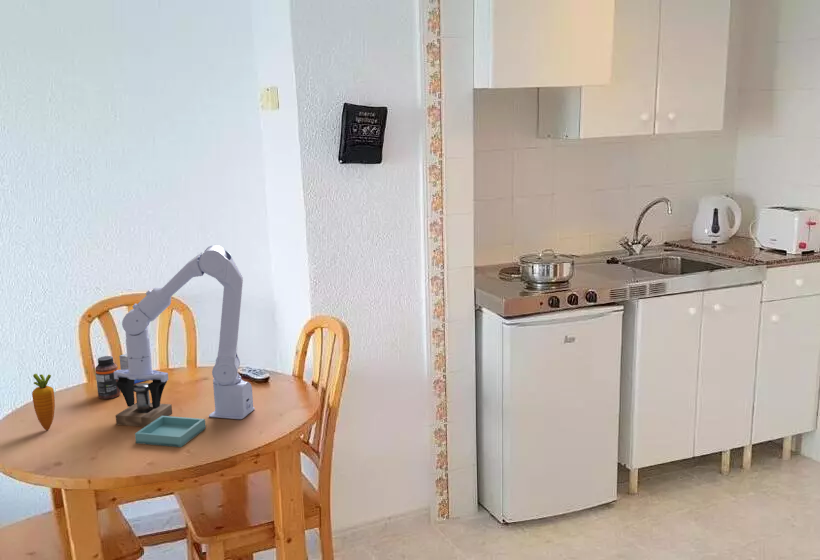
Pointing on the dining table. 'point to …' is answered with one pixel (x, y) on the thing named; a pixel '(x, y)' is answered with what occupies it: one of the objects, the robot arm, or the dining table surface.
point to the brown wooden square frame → (142, 415)
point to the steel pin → (142, 397)
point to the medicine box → (126, 366)
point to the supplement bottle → (106, 378)
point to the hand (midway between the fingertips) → (143, 406)
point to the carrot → (44, 401)
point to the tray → (170, 431)
